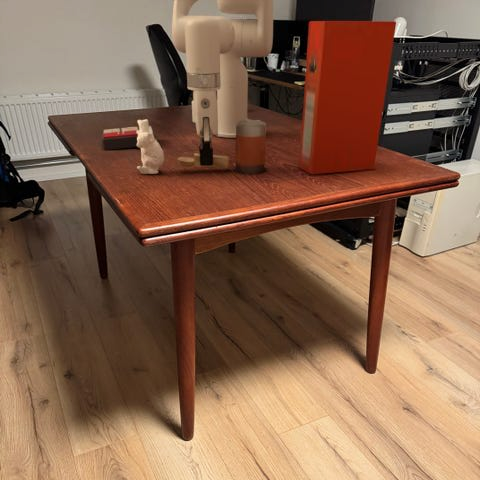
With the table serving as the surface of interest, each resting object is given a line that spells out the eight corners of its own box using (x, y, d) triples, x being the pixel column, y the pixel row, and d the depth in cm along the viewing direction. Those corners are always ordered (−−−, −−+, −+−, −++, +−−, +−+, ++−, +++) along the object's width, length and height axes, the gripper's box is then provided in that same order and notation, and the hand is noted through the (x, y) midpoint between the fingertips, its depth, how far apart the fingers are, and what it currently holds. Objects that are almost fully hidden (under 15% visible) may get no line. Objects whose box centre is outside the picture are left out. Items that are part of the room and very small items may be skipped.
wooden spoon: (226, 165, 121) (227, 155, 120) (228, 170, 117) (229, 159, 116) (177, 161, 119) (177, 150, 118) (177, 165, 115) (177, 154, 114)
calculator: (101, 128, 143) (152, 124, 145) (104, 143, 145) (154, 138, 148) (101, 136, 134) (154, 131, 136) (104, 152, 136) (156, 147, 139)
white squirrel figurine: (132, 169, 120) (127, 118, 113) (158, 166, 122) (154, 116, 116) (141, 178, 113) (135, 125, 107) (168, 175, 116) (164, 123, 109)
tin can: (256, 164, 124) (257, 118, 118) (269, 171, 119) (271, 124, 113) (230, 168, 122) (230, 121, 115) (243, 175, 116) (244, 127, 110)
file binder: (298, 166, 123) (309, 20, 106) (357, 161, 128) (377, 20, 110) (312, 175, 117) (325, 21, 99) (373, 169, 121) (397, 21, 104)
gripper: (223, 86, 102) (224, 172, 112) (217, 77, 115) (219, 155, 125) (188, 86, 101) (192, 173, 111) (186, 77, 114) (190, 156, 124)
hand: (206, 163), depth 118 cm, fingers closed on wooden spoon
